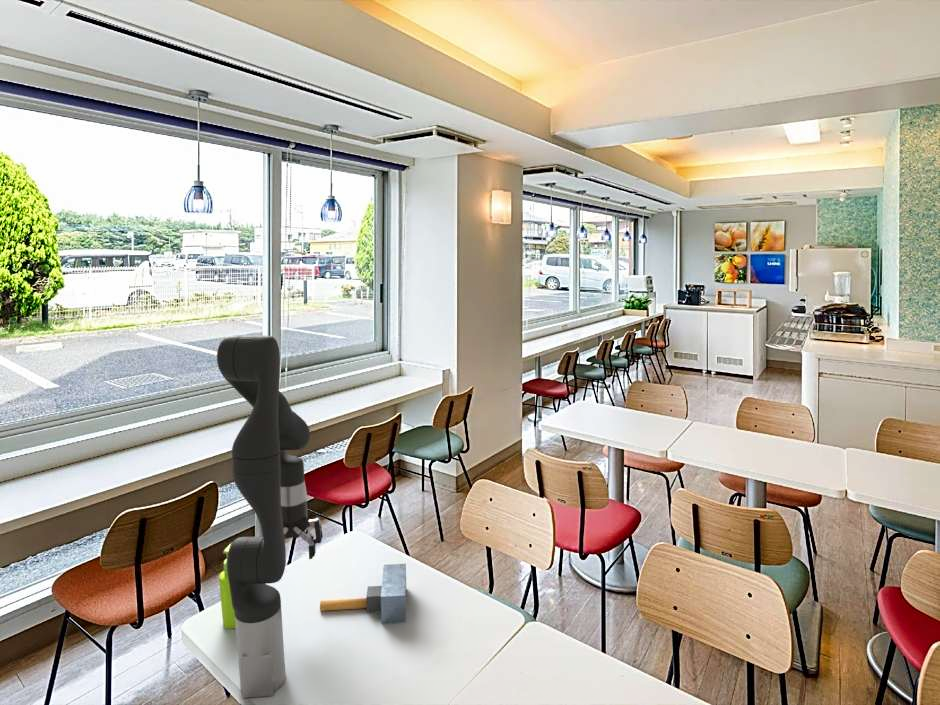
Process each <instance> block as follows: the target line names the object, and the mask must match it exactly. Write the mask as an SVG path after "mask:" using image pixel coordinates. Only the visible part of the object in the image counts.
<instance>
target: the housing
mask: <svg viewBox="0 0 940 705" xmlns="http://www.w3.org/2000/svg"><path fill="white" fill-rule="evenodd" d="M382 568H383V569H382V581H381V586H382V589H381V612H380V616H381V624H382V625H387V624H400V623H407V608H406V607H407V605H406V604H407V603H406V601H407V600H406V599H407V563H391V564H383V567H382Z"/></svg>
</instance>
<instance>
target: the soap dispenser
mask: <svg viewBox="0 0 940 705" xmlns="http://www.w3.org/2000/svg"><path fill="white" fill-rule="evenodd" d="M231 544H232V542H230V543H229V545H228V546H227V547H225V549H224V550H223V552H222V554H225V555H226V559H224V560H223V571H222V572H220V574H219V575H218V580H219V594H220V605H221V616H222V617H221V618H222V626H223V625H224V626H223V627H224V628H225V627H226V629H232V628H234V629H236V623H235V613H234V609H233V606H232V601H231V593H230V586H229V580H228V572H227V557H228V551H229V548H230V546H231ZM232 630H233V629H232Z"/></svg>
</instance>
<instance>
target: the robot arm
mask: <svg viewBox="0 0 940 705" xmlns="http://www.w3.org/2000/svg"><path fill="white" fill-rule="evenodd" d="M216 360H217V362H216V363H217V366H218V369H219V372H220V374H221V375H222V377H223V378H224V379H225V381H226V382H228V384H230V385H231V386H232V387H233V388H234V390H236V392H237V393H238V394H239V395H241V397H242V398H243V399H244V400H245V401H247V403H248V404H250V406H251V407H252V408H253V409H252V410H251V412H250V414H249V415H248V418H247V419H246V421H244V422H245V423H244V424H243V426H241V429H240V430H239V432H238V434H237V435H236V437H235V439H234V442H233V443H232V448H231V460H232V461H231V462H232V463H231V465H232V478H233V481H234V484H235V486H236V487H237V489H238V490H239V492H240V494H241V495H242V497H243V498H244V499H245V501H246V502H247V503H248V504H249V506H250V507H251V509H252V510H253V512H254V513H255V516H256V517H257V519H258V521H259V524H260V528H261V532H262V536H241V537H240V536H239V537H237V538H235V539H234V540H233V541H232V542H231V543H232V544H231V543H230V544H231V546H230V548H229V551H228V557H227V556H226V559H227V572H228V580H229V586H230V593H231V601H232V606H233V609H234V613H235V623H236V628H235V635H236V637H235V638H236V647H237V648H236V649H237V658H238V670H239V673H238V674H239V682H240V685H239V686H240V690H241V692H242V698H243V699H244V698H259V697H272V696H273V695H274V694H275V692H276V691H277V690H279V688H280V687H281V686H282V685H283V684H284V683H285V681H286V676H287V675H286V674H287V673H286V661H285V660H286V658H285V647H284V645H285V644H284V633H283V632H284V631H283V630H284V628H283V615H282V599H281V595H280V594H281V593H280V592H279V591H278V589H277V588H276V587H275V586H271V585H270V584H275V583H277V582H279V581H281V580H282V577H283V575H284V574H285V570H286V563H287V562H286V560H287V555H286V554H287V552H286V541H285V540H286V539H291V538H294V539H299V538H301V539H302V540H303V541H305V542H306V543H307V544H308V559H309V560H313V558H314V557H315V555H316V553H317V552H316V551H317V549H316V545H317V544H321V543H322V541H323V536H324V535H323V528H322V519H321V517H320V516H317V517H316V518H313V519H310V518H309V516H308V502H307V499H308V498H307V495H308V493H307V486H306V481H305V465H304V460H303V459H302V458H301V457H299V456H295V455H292V454H289V453H288V452H287V451H301V450H303V449H305V448H306V447H307V446H308V444H309V443H310V439H311V431H310V428H309V426H308V424H307V422H306V421H305V420H304V419H303V418H302V417H301V416H300V415H298V414H297V413H296V412H295V411H293V410H292V407H291V406H290V403H289V401H288V399H287V398H286V396H285V395H284V394H283V393H282V392H281V391H280V390H279V389H280V375H281V373H280V372H281V354H280V348H279V344H278V341H277V340H276V338H275V337H274V336H271V335H231V336H226V337H224V338H223V339H221V341H220V343H219V344H218V347H217V353H216ZM309 526H311V528H312V529H314V531H315V532H314V533H315V535H313V534H312V532H311V530H310V529H309V528H308V527H309Z"/></svg>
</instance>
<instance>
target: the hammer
mask: <svg viewBox="0 0 940 705" xmlns="http://www.w3.org/2000/svg"><path fill="white" fill-rule="evenodd" d="M381 589H382V585H375V586H374V585H372V586H371V585H370V586H367V590H366V595H365V596H366V597H365V598H364V597H363V598H362V597H361V598H346V599H344V598H343V599H331V600H330V599H329V600H327V599H326V600H320V602H319V611H320V612H323V611H324V612H325V611H340V610H341V611H342V610H357V609H358V610H359V609H366V612H367V613H368V614H369V613H381Z"/></svg>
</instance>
